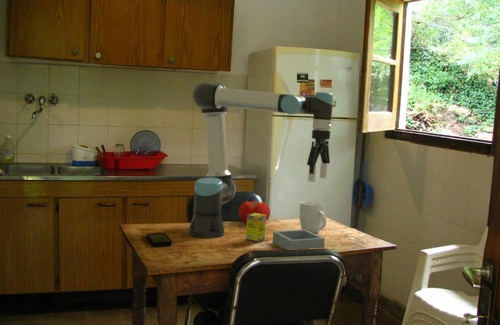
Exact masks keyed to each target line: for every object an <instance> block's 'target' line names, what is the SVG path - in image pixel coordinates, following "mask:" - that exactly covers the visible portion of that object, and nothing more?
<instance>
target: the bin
mask: <svg viewBox="0 0 500 325" xmlns="http://www.w3.org/2000/svg"><path fill="white" fill-rule="evenodd" d="M325 242H326V241H325V237H322V236H320V235H318V234H317V233H312V232H309V231H307V230H302V229H295V230H294V229H293V230H276V231H273V232H272V243H273V244H274V245H277V246H278V247H280V248H282V249H283V250H285V249H309V248H324V249H325Z"/></svg>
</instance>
